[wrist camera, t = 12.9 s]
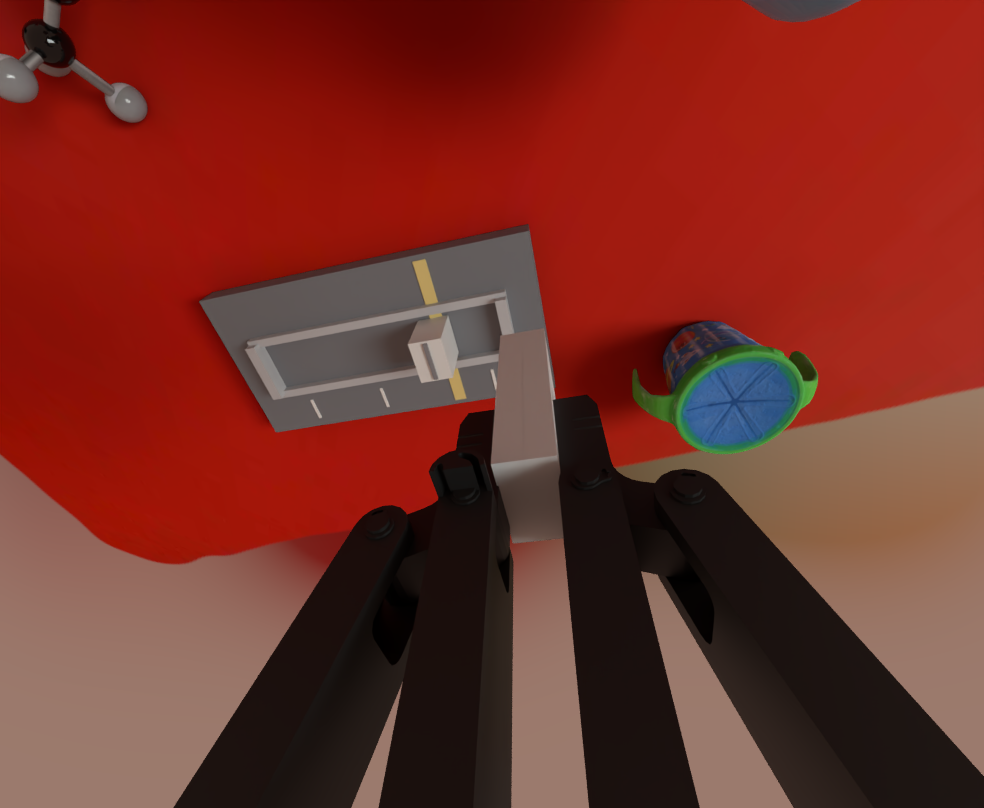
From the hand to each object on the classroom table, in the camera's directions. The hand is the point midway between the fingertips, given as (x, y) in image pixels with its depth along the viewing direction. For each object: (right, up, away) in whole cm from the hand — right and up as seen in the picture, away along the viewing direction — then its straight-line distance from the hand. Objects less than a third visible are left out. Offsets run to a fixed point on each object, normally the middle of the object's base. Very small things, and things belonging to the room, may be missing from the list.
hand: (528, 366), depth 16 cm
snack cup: (+20, +4, +32) cm, 38 cm away
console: (-12, +6, +32) cm, 35 cm away
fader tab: (-6, +5, +29) cm, 30 cm away
